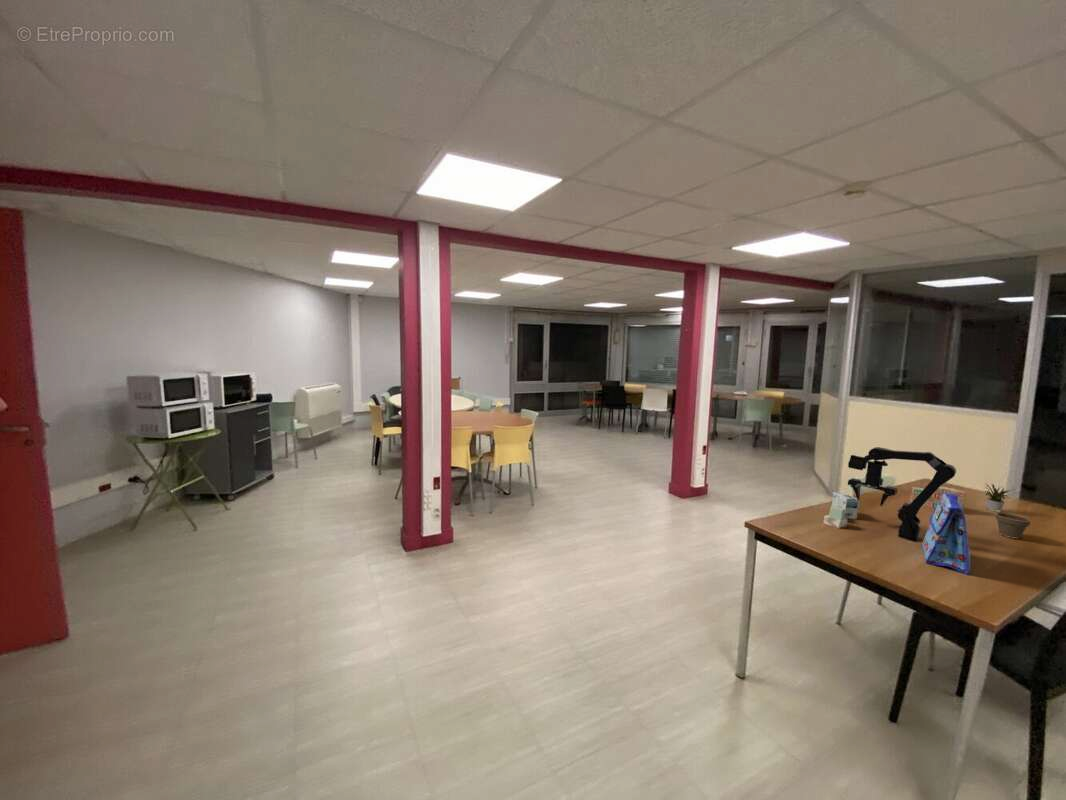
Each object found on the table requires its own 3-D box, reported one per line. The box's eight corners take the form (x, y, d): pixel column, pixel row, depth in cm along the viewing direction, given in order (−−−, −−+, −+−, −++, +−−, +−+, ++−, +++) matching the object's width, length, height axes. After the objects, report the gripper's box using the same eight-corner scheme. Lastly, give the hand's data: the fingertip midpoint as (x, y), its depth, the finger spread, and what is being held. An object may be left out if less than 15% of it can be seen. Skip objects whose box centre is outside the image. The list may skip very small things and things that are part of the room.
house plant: (966, 505, 250) (972, 479, 248) (981, 504, 254) (986, 478, 252) (999, 515, 237) (1004, 487, 234) (1014, 513, 241) (1020, 486, 239)
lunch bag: (920, 545, 192) (931, 484, 188) (962, 556, 184) (975, 492, 180) (924, 563, 176) (936, 496, 172) (970, 576, 167) (984, 506, 163)
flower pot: (987, 529, 216) (991, 510, 215) (1019, 535, 210) (1024, 515, 209) (997, 537, 206) (1001, 517, 205) (1031, 544, 200) (1035, 523, 199)
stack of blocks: (911, 504, 248) (915, 484, 247) (909, 501, 254) (913, 481, 252) (962, 514, 236) (966, 492, 235) (959, 510, 241) (963, 490, 240)
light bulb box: (857, 519, 220) (860, 499, 219) (844, 518, 220) (847, 498, 219) (842, 511, 231) (845, 492, 230) (830, 510, 231) (832, 491, 230)
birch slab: (846, 526, 210) (847, 519, 210) (838, 529, 207) (839, 521, 207) (831, 521, 217) (832, 513, 216) (823, 523, 213) (824, 515, 213)
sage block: (843, 518, 211) (845, 508, 210) (840, 520, 207) (842, 511, 207) (831, 515, 214) (833, 505, 214) (828, 517, 211) (830, 507, 210)
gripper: (902, 475, 206) (898, 506, 208) (856, 465, 221) (852, 494, 223) (896, 478, 200) (891, 510, 202) (849, 468, 214) (845, 498, 216)
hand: (869, 503), depth 211 cm, fingers open, 9 cm apart
